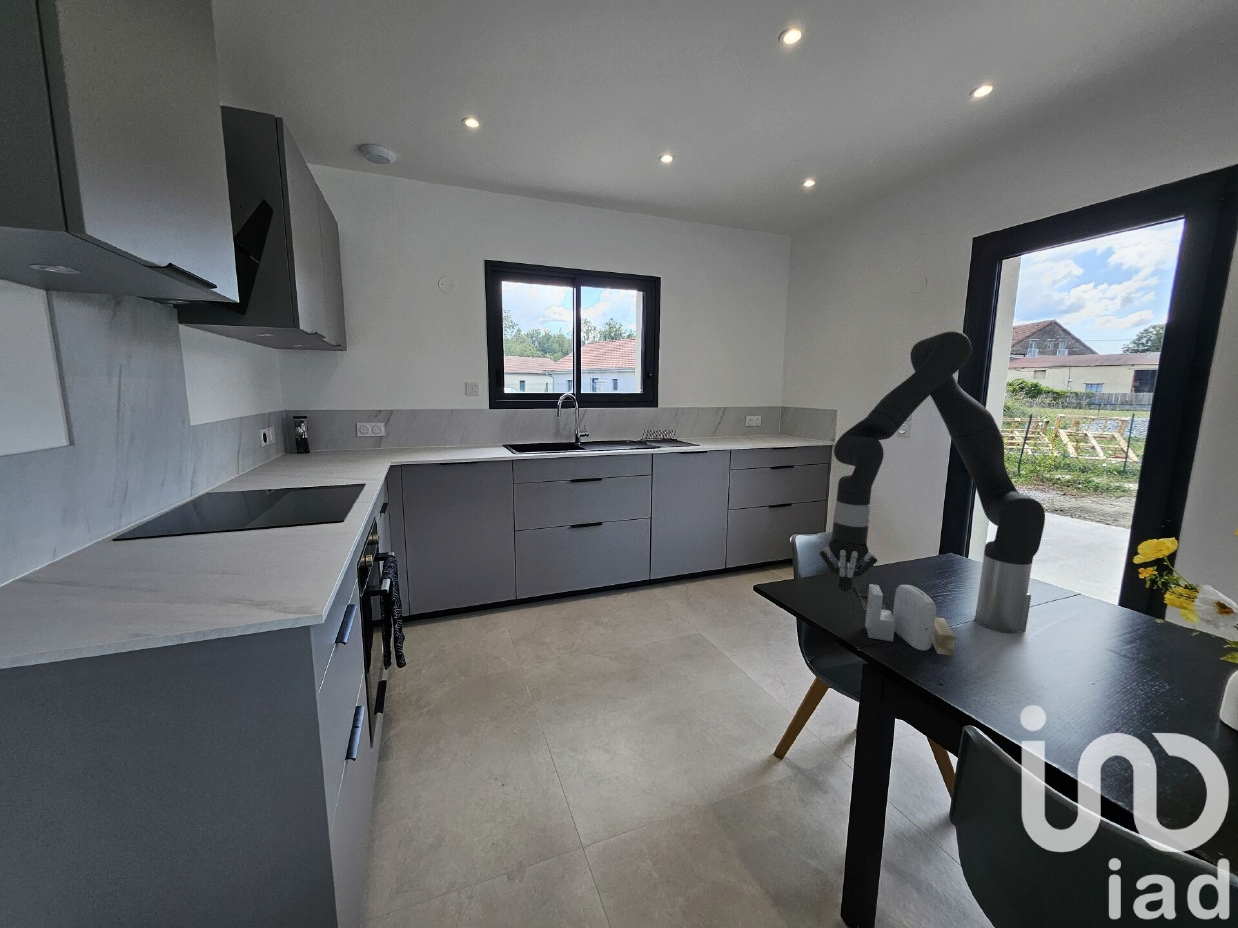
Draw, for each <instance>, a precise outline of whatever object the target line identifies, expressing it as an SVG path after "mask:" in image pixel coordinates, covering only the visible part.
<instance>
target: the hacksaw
mask: <svg viewBox="0 0 1238 928" xmlns="http://www.w3.org/2000/svg"><path fill="white" fill-rule="evenodd" d="M853 589H854V591H855V592H856V595H857V597H858V596H859V597H858V600H859V601H860V604H861V606H862V609H863V611H864V610H867V603H866V601H865V598H868V594H866V593H865V594H863V593H862V590H863V587H862V586H861V585H859V584H858V585H857V584H855V585H853ZM882 594H883V597H885V594H884V592H882ZM882 610H888V608H887V606H886V605H885V603H884V601H883V600H882ZM892 616H893V614H892Z"/></svg>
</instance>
